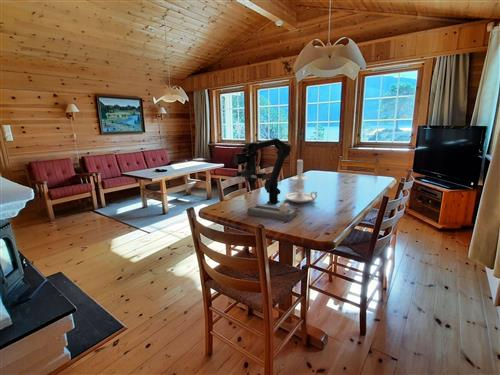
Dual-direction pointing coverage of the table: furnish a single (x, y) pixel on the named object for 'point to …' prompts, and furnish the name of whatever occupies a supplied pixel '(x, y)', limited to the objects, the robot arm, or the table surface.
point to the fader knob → (284, 207)
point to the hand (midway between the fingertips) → (251, 188)
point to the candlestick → (300, 187)
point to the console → (271, 212)
